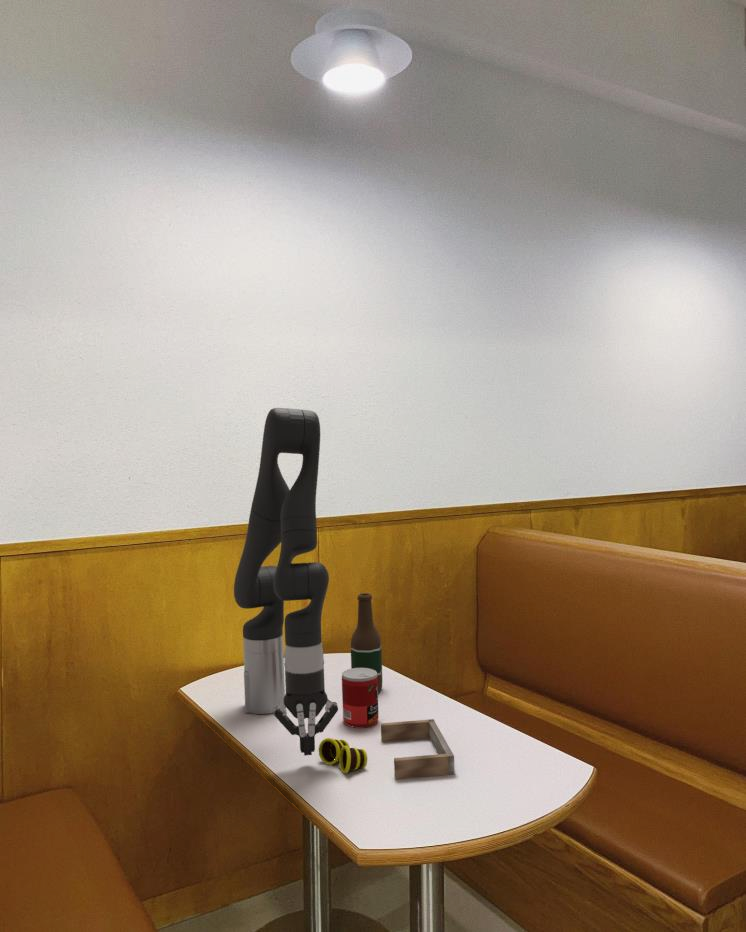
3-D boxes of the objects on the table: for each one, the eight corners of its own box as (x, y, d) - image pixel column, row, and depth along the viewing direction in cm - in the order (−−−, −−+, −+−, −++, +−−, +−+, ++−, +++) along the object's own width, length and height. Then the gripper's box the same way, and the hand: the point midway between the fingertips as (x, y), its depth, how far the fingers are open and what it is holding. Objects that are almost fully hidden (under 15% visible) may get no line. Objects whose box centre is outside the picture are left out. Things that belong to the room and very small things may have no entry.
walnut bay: (395, 779, 145) (395, 760, 145) (381, 739, 163) (380, 723, 163) (454, 774, 147) (454, 755, 147) (433, 735, 165) (433, 719, 165)
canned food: (375, 729, 169) (373, 679, 169) (339, 727, 171) (337, 677, 170) (381, 716, 177) (380, 668, 176) (347, 714, 178) (345, 666, 178)
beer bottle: (388, 687, 195) (386, 592, 194) (372, 697, 189) (369, 599, 187) (362, 682, 199) (360, 589, 198) (345, 692, 193) (342, 595, 192)
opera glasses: (368, 774, 150) (371, 747, 150) (346, 777, 147) (349, 750, 147) (337, 758, 157) (340, 733, 158) (316, 761, 154) (319, 735, 154)
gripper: (336, 657, 156) (339, 743, 157) (269, 662, 154) (273, 749, 155) (340, 669, 148) (343, 758, 149) (270, 674, 147) (273, 765, 147)
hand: (307, 753), depth 152 cm, fingers closed
